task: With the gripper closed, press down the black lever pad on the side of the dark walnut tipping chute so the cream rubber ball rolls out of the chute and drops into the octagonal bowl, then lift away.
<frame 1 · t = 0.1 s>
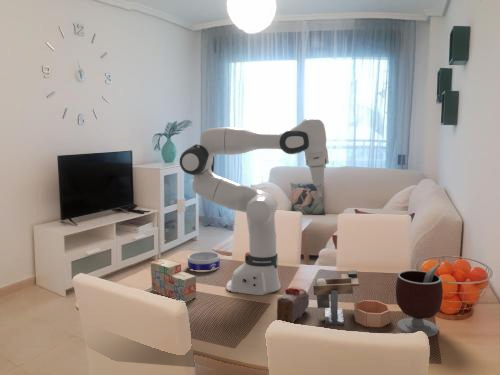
hand: (320, 195, 166), 39 cm above the table, tool pointing down, fingers open, 8 cm apart
dog bowl: (204, 268, 203), on the table
tipping chute: (336, 287, 149), point 9 cm above the table, hinge at -5.0°, touching ball
stack of blocks: (173, 295, 169), on the table
octagonal bowl: (371, 319, 143), on the table
mate gourd: (419, 328, 136), on the table
ball: (321, 283, 144), point 12 cm above the table, tilted 12°, touching tipping chute
food item: (293, 316, 147), on the table
chute stand: (334, 317, 145), on the table
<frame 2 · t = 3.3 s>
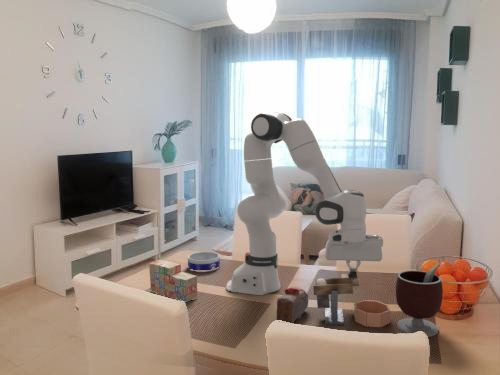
hand: (353, 272, 154), 12 cm above the table, tool pointing down, fingers closed, pressing on tipping chute
tipping chute: (336, 287, 149), point 9 cm above the table, hinge at -5.0°, touching ball, gripper
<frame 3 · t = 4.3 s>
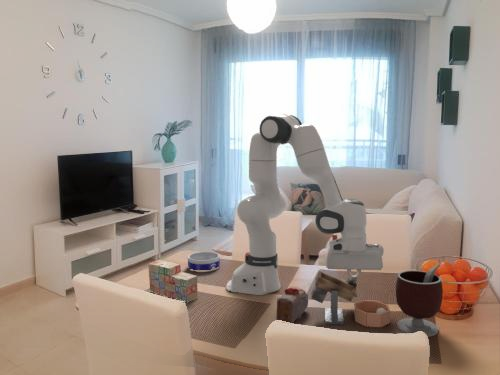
hand: (353, 280, 154), 9 cm above the table, tool pointing down, fingers closed
tipping chute: (334, 288, 149), point 8 cm above the table, hinge at 23.9°, touching gripper
ball: (381, 313, 142), point 2 cm above the table, tilted 53°, touching octagonal bowl
everything else where it was.
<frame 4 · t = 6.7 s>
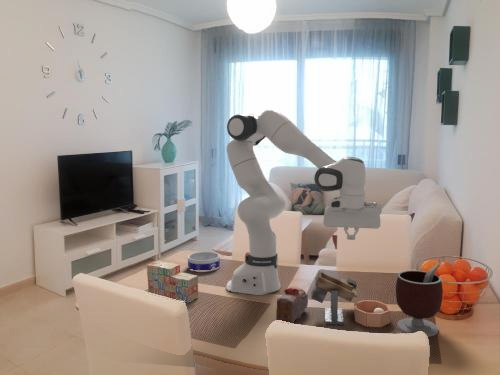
hand: (350, 239, 154), 24 cm above the table, tool pointing down, fingers closed
tipping chute: (334, 288, 149), point 8 cm above the table, hinge at 24.3°
ball: (379, 313, 142), point 2 cm above the table, tilted 78°, touching octagonal bowl
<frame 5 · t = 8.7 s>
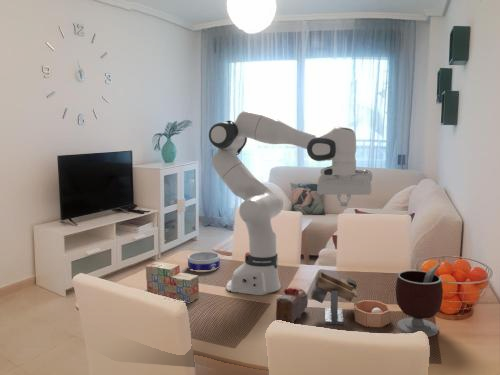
hand: (343, 206, 161), 35 cm above the table, tool pointing down, fingers closed
ball: (376, 313, 142), point 2 cm above the table, tilted 100°, touching octagonal bowl
at the end: ball inside the target area on the octagonal bowl (1.7 cm from its centre), point 2.3 cm above the octagonal bowl's base; ball touching octagonal bowl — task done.
